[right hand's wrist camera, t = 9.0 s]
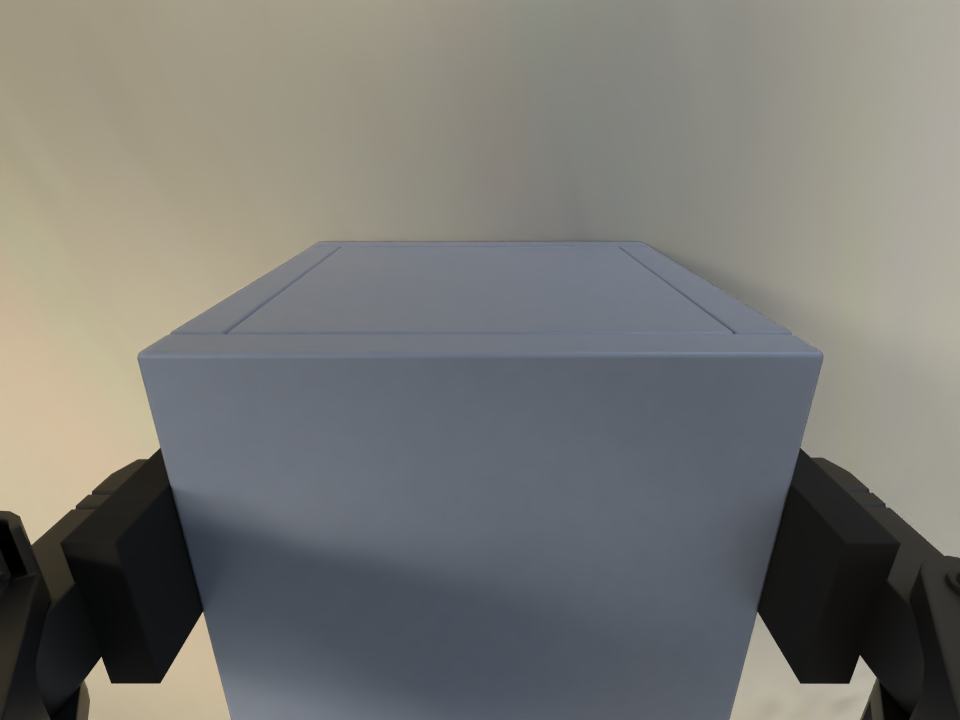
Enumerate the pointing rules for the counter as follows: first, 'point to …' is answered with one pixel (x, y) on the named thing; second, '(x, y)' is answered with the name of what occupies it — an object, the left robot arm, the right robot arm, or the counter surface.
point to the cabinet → (480, 481)
